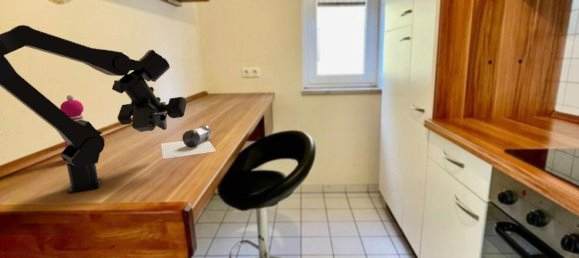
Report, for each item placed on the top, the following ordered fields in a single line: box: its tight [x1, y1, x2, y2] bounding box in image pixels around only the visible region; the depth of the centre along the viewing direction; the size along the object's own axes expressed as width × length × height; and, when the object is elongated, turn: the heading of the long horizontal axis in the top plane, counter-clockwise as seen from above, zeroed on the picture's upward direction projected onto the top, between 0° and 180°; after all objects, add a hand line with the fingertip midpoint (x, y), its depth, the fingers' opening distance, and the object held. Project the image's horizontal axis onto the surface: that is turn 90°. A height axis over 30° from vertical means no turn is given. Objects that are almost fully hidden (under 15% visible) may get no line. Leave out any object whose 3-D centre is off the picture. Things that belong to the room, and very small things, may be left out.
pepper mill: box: [59, 94, 85, 149], centre depth 104 cm, size 7×7×20 cm
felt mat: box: [160, 139, 217, 160], centre depth 112 cm, size 20×16×1 cm
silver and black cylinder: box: [181, 124, 213, 147], centre depth 116 cm, size 6×6×11 cm
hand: (165, 128), depth 101 cm, fingers closed
